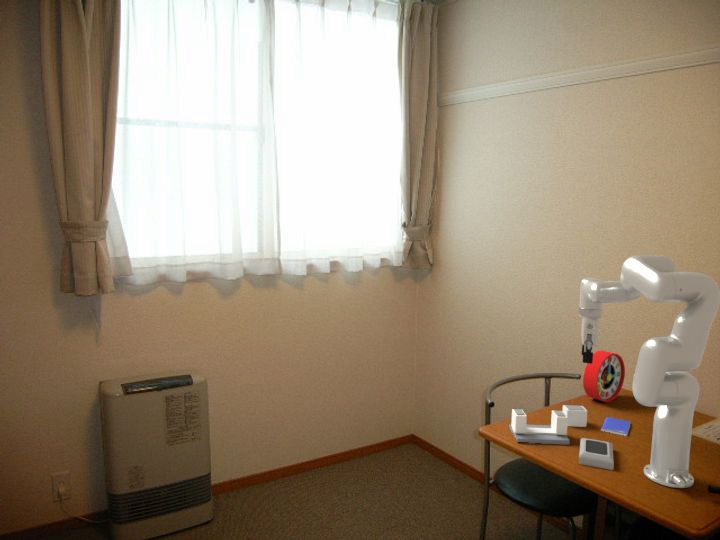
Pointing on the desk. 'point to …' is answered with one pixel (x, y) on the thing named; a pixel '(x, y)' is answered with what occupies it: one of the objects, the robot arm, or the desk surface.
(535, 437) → the board
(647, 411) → the desk surface
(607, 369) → the toy clock
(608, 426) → the hard drive
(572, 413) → the module block
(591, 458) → the grey bevelled device
